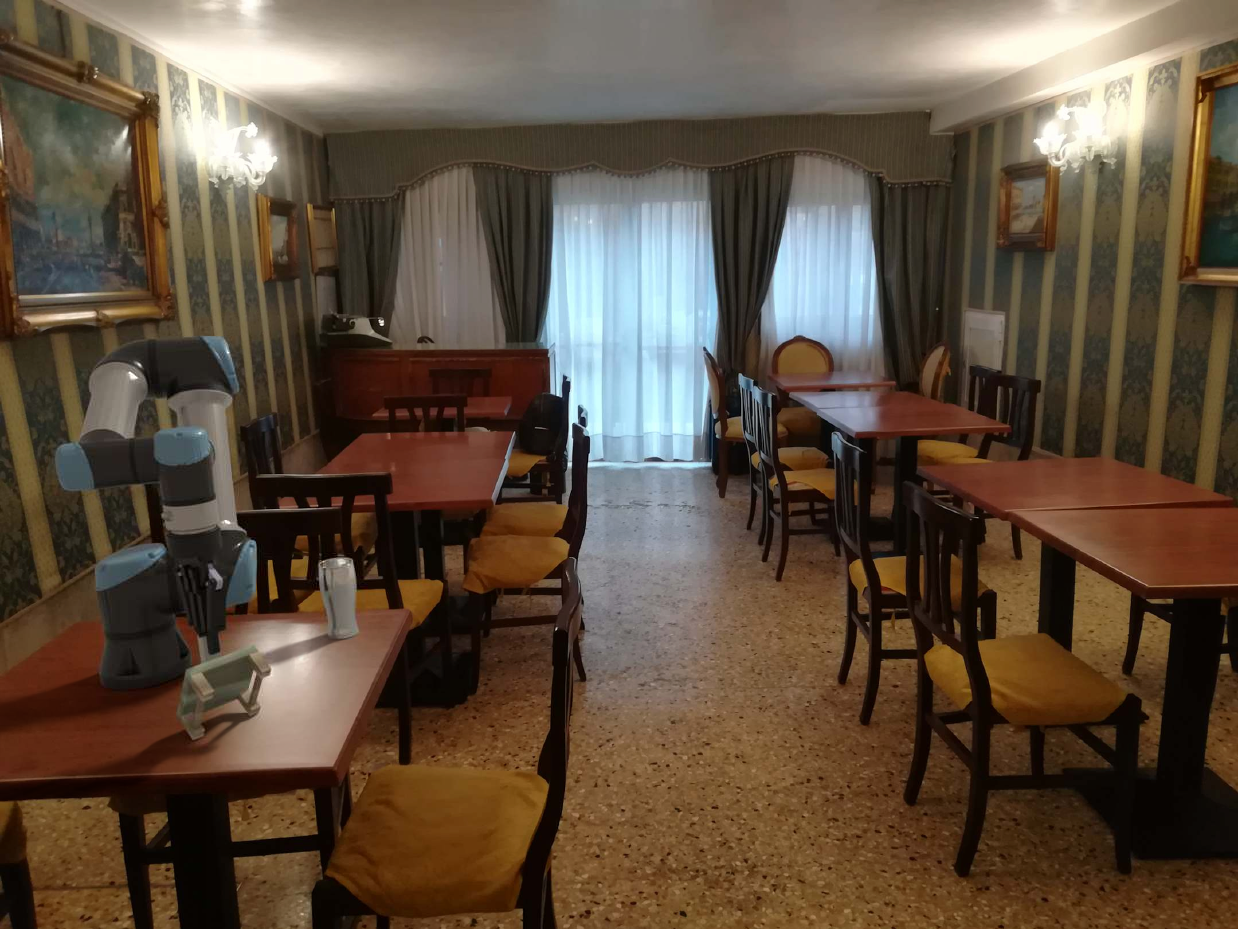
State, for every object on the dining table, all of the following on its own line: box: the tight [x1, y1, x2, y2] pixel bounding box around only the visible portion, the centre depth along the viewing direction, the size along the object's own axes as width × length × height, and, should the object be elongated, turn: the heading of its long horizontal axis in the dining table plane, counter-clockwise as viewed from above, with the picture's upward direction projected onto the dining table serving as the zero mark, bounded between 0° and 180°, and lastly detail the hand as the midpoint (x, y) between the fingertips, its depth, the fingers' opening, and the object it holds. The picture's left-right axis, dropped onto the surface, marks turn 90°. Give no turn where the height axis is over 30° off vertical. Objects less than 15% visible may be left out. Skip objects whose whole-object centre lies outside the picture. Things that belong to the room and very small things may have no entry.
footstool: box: [176, 644, 272, 741], centre depth 141 cm, size 6×11×11 cm
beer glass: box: [318, 557, 360, 640], centre depth 177 cm, size 7×7×15 cm
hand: (213, 671), depth 141 cm, fingers closed
